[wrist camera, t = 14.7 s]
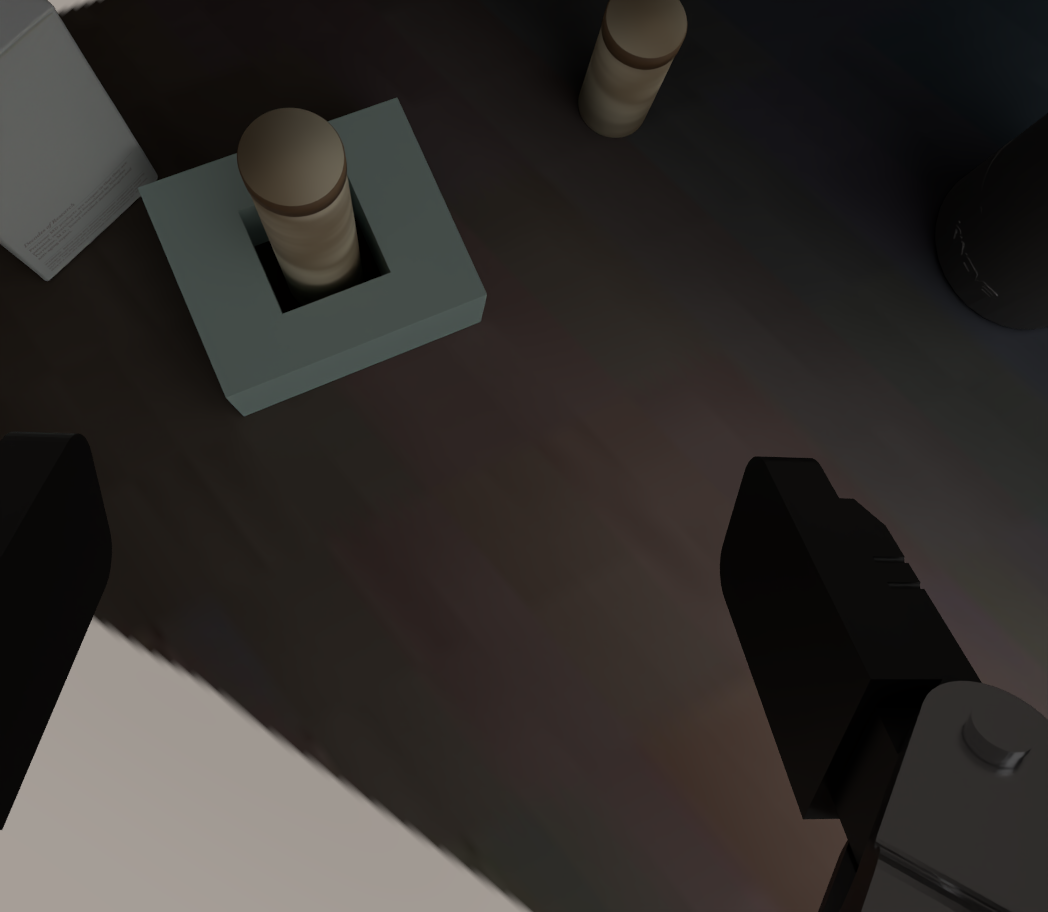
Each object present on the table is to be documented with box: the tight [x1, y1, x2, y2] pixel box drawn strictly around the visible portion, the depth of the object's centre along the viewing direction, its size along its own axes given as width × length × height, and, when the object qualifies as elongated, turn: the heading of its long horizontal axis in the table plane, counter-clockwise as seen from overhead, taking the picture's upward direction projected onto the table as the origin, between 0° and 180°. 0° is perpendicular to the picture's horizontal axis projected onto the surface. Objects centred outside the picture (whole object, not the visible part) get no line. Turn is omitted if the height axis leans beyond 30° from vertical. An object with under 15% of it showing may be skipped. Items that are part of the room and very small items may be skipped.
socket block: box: [138, 98, 487, 416], centre depth 41 cm, size 12×10×4 cm
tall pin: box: [237, 108, 364, 306], centre depth 37 cm, size 4×4×12 cm
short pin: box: [578, 0, 687, 138], centre depth 43 cm, size 4×4×7 cm
